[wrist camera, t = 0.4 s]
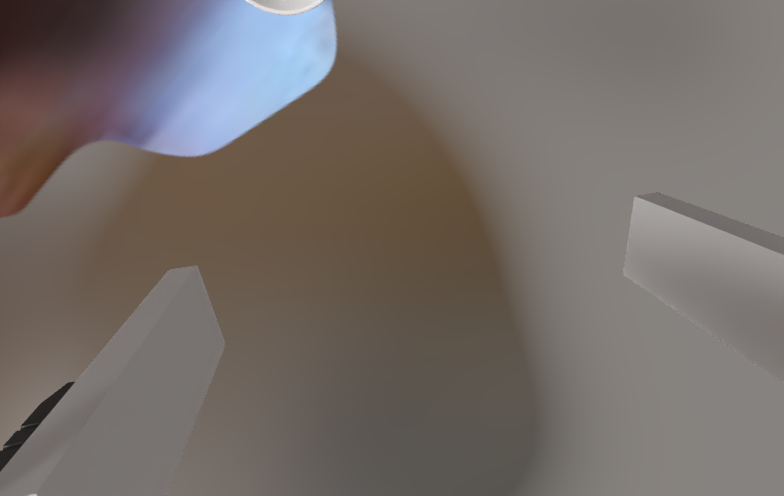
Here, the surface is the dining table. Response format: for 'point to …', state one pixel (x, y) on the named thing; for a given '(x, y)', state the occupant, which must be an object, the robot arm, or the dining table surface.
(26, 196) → the dining table surface
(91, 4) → the dining table surface
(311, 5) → the white cup
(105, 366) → the robot arm
